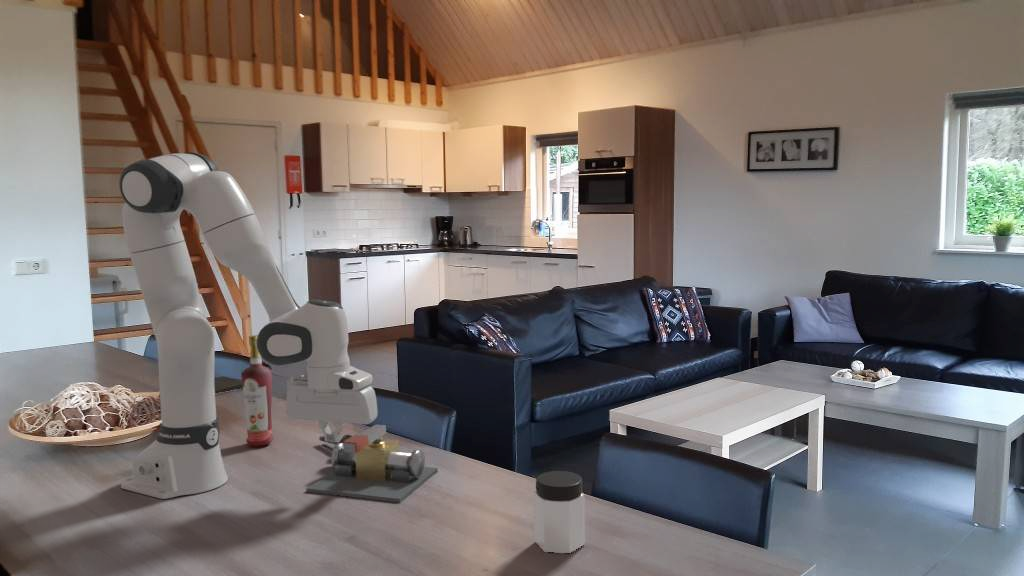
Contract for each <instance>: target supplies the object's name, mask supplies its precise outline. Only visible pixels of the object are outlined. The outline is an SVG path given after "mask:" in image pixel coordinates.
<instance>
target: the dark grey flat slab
mask: <svg viewBox="0 0 1024 576" xmlns="http://www.w3.org/2000/svg"><path fill="white" fill-rule="evenodd" d="M214 387H215V393H219V392H225V391H230V390H234V389H240V388H243V386H242V379H239V378H238V379H237V378H234V377H227V376H219V377H214Z"/></svg>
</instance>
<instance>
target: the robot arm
mask: <svg viewBox="0 0 1024 576" xmlns="http://www.w3.org/2000/svg"><path fill="white" fill-rule="evenodd" d="M118 183H119V184H118V186H119V192H120V194H121V197H122V199H123V200H124V202H125V203H124V205H123V206H122V209H121V215H122V224H123V225H122V226H123V231H124V237H125V241H126V242H125V243H126V246H127V250H128V252H129V256H130V259H131V264H132V266H133V269H134V272H135V276H136V278H137V283H138V285H139V288H140V292H141V294H142V298H143V301H144V305H145V308H146V310H147V311H146V312H147V314H148V317H149V321H150V325H151V328H152V330H153V334H154V337H155V340H156V346H157V347H156V348H157V363H158V385H159V386H158V387H159V401H160V402H159V403H160V414H161V416H160V417H161V423H159V424H158V425H155V426H152V427H151V429H153V430H152V431H151V433H156V432H157V433H156V437H155V440H154V441H153V442H151V443H150V445H148V446H147V447H146V448H145V449H144V450H142V451H141V452H140V453H138V455H136V456H135V458H134V460H133V463H132V475H130V476H128V477H127V478H125V479H124V480H122V482H121V484H120V488H121V489H124V490H127V491H130V492H134V493H138V494H142V495H146V496H149V497H154V498H158V499H160V500H161V499H162V500H165V499H166V500H167V499H171V498H176V497H179V496H185V495H186V496H187V495H194V494H200V493H204V492H208V491H211V490H214V489H216V488H217V489H218V488H220V487H221V486H222V485H224V484H225V483H227V482H228V481H229V475H228V473H227V472H226V471H227V470H226V467H225V465H224V461H223V456H222V452H221V446H220V441H219V439H220V421H219V417H218V416H217V407H216V406H217V405H216V396H215V387H214V378H215V369H216V368H215V359H216V358H215V333H214V329H213V326H212V324H211V323H210V322H209V320H208V318H207V316H206V314H205V310H204V306H203V303H202V302H203V301H202V298H201V294H200V291H199V287H198V283H197V276H196V274H195V270H194V268H193V267H194V266H193V263H192V261H191V256H190V254H189V253H190V252H189V250H188V246H187V243H186V240H185V236H184V233H183V231H182V228H181V223H180V216H181V214H182V212H183V211H184V210H185V211H187V212H189V213H190V214H191V215H192V216H193V218H194V220H195V222H196V223H197V225H198V228H199V230H200V233H201V234H202V236H203V237H202V238H203V239H204V241H205V242H206V245H207V247H208V249H209V250H210V252H211V253H212V255H213V256H214V258H216V260H217V261H218V263H220V265H222V266H223V267H225V268H228V269H231V270H232V271H235V272H236V273H239V274H240V275H242V276H243V277H244V278H246V279H247V280H248V282H249V283H250V284H251V285H252V287H253V288H254V291H255V293H256V294H257V297H258V298H259V300H260V302H261V303H262V306H263V307H264V310H265V312H266V313H267V316H268V319H269V321H268V323H266V324H265V325H264V326H263V327H262V328H261V329H260V330H259V333H258V334H257V335H258V337H257V349H258V352H259V354H260V355H261V359H263V360H264V361H265V362H267V363H269V364H271V365H275V366H287V365H291V364H295V363H299V362H302V361H304V362H305V363H306V375H297V374H294V375H292V376H291V377H289V378H288V380H287V381H286V391H287V393H286V402H285V403H286V405H285V412H286V413H285V414H286V415H287V417H288V419H290V420H301V421H303V420H304V421H314V422H315V421H316V422H318V427H319V429H320V430H321V432H322V433H323V436H324V438H325V441H327V442H339V441H340V440H341V439H342V435H341V434H342V431H343V430H344V428H345V425H346V424H353V425H354V424H355V425H356V424H357V425H369V424H371V423H372V422H374V421H375V420H376V419H377V417H378V414H379V413H378V401H377V397H376V391H375V389H374V388H373V387H372V386H371V384H372V383H373V380H374V379H373V375H372V374H371V373H369V372H367V371H364V370H361V369H359V368H357V367H355V366H352V365H351V359H350V357H349V353H348V345H349V342H350V340H349V339H350V338H349V329H348V326H349V325H348V321H347V320H348V319H347V315H346V312H345V309H344V307H343V306H342V305H341V304H340V303H338V302H335V301H332V300H328V299H327V300H326V299H310V300H308V301H307V302H306V303H305V304H303V305H302V306H299V304H298V303H297V302H296V300H295V299H294V296H293V294H292V293H291V290H290V289H289V287H288V285H287V284H286V281H285V278H284V277H283V275H282V273H281V272H280V269H279V268H278V266H277V263H276V262H275V259H274V257H273V254H272V252H271V250H270V247H269V244H268V242H267V239H266V237H265V233H264V231H263V229H262V226H261V223H260V220H259V219H258V217H257V215H256V212H255V210H254V209H253V206H252V204H251V202H250V201H249V199H248V197H247V195H246V194H245V192H244V191H243V189H242V188H241V186H240V184H239V183H238V181H236V179H235V178H234V177H233V176H232V175H231V174H230V173H229V172H226V171H223V170H222V171H221V170H219V168H218V166H217V164H216V163H215V162H214V161H213V160H212V158H210V157H208V156H206V155H205V154H201V153H199V152H191V151H190V152H189V151H187V152H181V153H167V154H162V155H160V156H156V157H155V156H154V157H151V158H145V159H144V158H143V159H140V160H137V161H134V162H132V163H131V164H129V165H127V166H126V167H125V168H124V170H122V172H121V174H120V176H119V181H118ZM330 423H333V426H334V428H335V429H334V431H332V430H331V428H330V426H329V424H330ZM327 442H326V443H327Z"/></svg>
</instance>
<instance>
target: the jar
mask: <svg viewBox="0 0 1024 576" xmlns="http://www.w3.org/2000/svg"><path fill="white" fill-rule="evenodd" d="M585 497H586V495H585V493H583V478H582V477H581V476H580V475H579V474H578V473H575V472H571V471H566V470H551V471H547V472H543V473H541V474H539V475H538V476H536V479H535V491H534V492H533V502H534V503H533V504H534V505H533V506H534V511H533V512H534V513H533V514H534V542H535V544H537V545H539V546H538V547H539V548H540V549H541V550H542V552H544V553H548V552H554V554H564V553H570V554H572V553H574V552H575V551H577V550H578V548H579V549H580V548H582V547H583V545H584V546H585V545H586V504H585V499H586V498H585ZM581 546H582V547H581ZM576 549H577V550H576ZM573 551H574V552H573ZM571 552H572V553H571Z"/></svg>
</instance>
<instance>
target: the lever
mask: <svg viewBox="0 0 1024 576" xmlns="http://www.w3.org/2000/svg"><path fill="white" fill-rule="evenodd" d="M385 434H387V424H386V425H385V424H374V425H372V426H371V427H369V428H367V429H366V430H363V431H362V432H360V433H358V434H354V435H351V436H352V437H351V438H349V439H347V440H345V441H344V443H343V446H344V452H351V453H358V452H359V451H361V450H363V449H364V448H366V447H367V446H369V443H371V442H380V441H382V439H383V436H384V435H385Z"/></svg>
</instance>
